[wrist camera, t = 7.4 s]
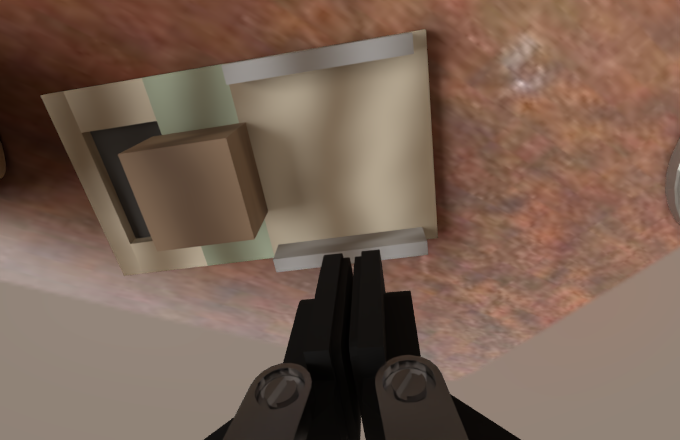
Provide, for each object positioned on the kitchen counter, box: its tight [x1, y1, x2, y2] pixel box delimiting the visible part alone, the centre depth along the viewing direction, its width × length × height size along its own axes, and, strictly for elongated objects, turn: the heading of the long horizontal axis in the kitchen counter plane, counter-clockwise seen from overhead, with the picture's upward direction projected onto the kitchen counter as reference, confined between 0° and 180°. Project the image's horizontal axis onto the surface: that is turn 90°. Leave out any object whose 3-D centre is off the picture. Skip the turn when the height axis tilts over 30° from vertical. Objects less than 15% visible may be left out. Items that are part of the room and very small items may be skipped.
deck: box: [40, 29, 438, 276], centre depth 25 cm, size 23×13×3 cm, turn 99°
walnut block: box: [118, 122, 268, 252], centre depth 24 cm, size 6×6×4 cm
